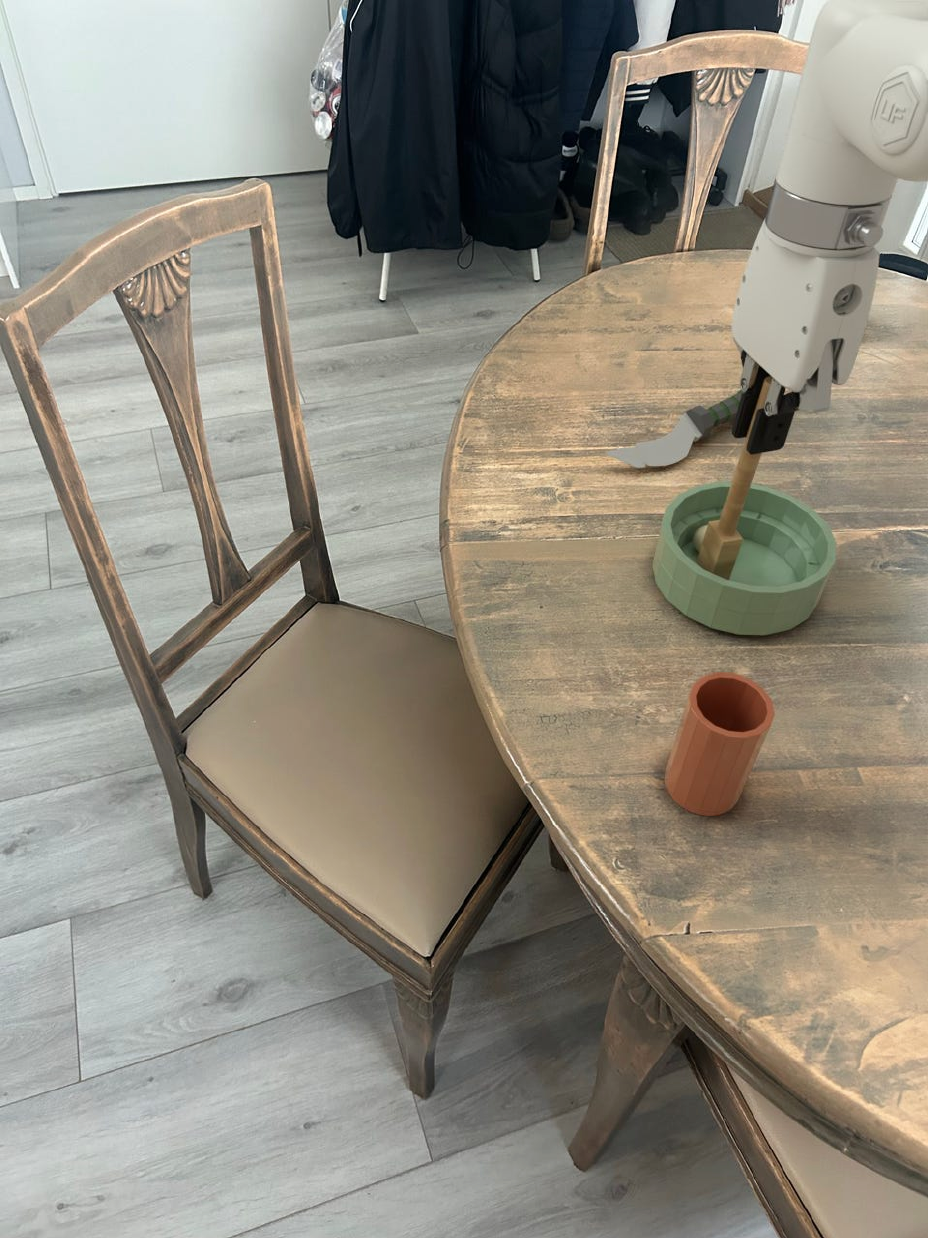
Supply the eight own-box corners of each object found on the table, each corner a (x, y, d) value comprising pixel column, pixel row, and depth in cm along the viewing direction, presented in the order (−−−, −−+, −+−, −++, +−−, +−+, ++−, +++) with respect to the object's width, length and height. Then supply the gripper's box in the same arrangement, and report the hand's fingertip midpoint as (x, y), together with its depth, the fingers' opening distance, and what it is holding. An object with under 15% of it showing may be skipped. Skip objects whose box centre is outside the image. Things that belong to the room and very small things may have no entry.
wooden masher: (729, 580, 82) (796, 389, 68) (709, 583, 81) (773, 392, 67) (714, 559, 84) (777, 370, 70) (695, 562, 83) (754, 372, 69)
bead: (718, 546, 83) (704, 519, 84) (695, 561, 85) (682, 535, 86) (736, 544, 85) (722, 518, 86) (713, 559, 87) (700, 533, 88)
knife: (635, 475, 92) (609, 437, 93) (619, 495, 96) (594, 458, 97) (778, 409, 102) (753, 375, 103) (757, 429, 105) (733, 397, 106)
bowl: (849, 619, 81) (872, 572, 77) (699, 655, 78) (713, 607, 74) (762, 517, 92) (777, 470, 87) (625, 544, 88) (635, 497, 84)
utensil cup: (753, 805, 67) (790, 726, 60) (685, 824, 66) (714, 746, 59) (717, 746, 71) (747, 665, 64) (652, 763, 70) (675, 682, 63)
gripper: (947, 254, 55) (851, 490, 68) (808, 168, 65) (747, 387, 79) (845, 268, 53) (766, 507, 67) (718, 178, 64) (672, 399, 77)
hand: (756, 440), depth 72 cm, fingers closed on wooden masher, 1 cm apart
